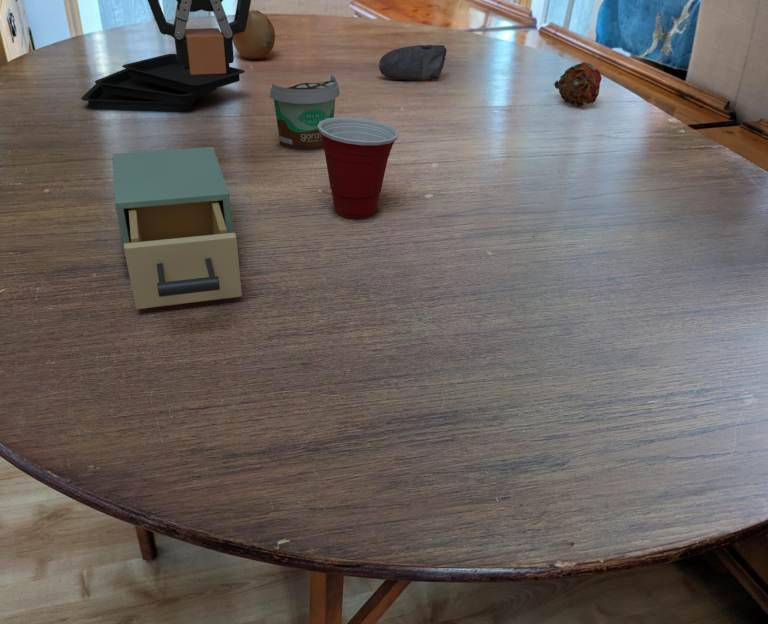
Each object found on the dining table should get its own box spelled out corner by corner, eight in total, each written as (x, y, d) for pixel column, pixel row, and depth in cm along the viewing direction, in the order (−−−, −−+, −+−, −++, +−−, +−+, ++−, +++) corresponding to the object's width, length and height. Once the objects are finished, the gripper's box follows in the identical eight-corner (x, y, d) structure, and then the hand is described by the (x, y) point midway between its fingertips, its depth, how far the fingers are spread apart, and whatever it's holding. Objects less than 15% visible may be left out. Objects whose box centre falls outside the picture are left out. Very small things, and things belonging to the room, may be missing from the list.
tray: (79, 118, 129) (72, 87, 126) (93, 81, 147) (88, 54, 144) (249, 114, 135) (247, 85, 132) (243, 79, 153) (241, 53, 150)
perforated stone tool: (380, 83, 154) (381, 48, 150) (376, 76, 159) (377, 42, 154) (448, 82, 157) (451, 48, 152) (443, 76, 161) (446, 42, 156)
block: (226, 73, 96) (223, 36, 93) (190, 74, 95) (186, 36, 92) (221, 64, 99) (218, 28, 97) (187, 65, 98) (183, 28, 95)
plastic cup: (409, 218, 101) (415, 133, 94) (340, 233, 97) (340, 144, 89) (371, 190, 109) (374, 109, 101) (306, 202, 104) (303, 118, 97)
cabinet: (235, 263, 89) (229, 193, 84) (128, 275, 86) (114, 203, 80) (219, 211, 101) (213, 146, 95) (125, 219, 98) (112, 153, 92)
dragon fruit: (576, 121, 144) (564, 111, 154) (616, 96, 141) (601, 88, 152) (556, 83, 141) (545, 75, 151) (596, 56, 138) (582, 51, 149)
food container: (291, 157, 118) (288, 94, 112) (272, 146, 122) (269, 84, 116) (353, 144, 124) (354, 83, 118) (333, 133, 128) (333, 74, 122)
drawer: (250, 323, 77) (244, 262, 72) (138, 338, 74) (125, 275, 70) (224, 239, 92) (219, 184, 88) (131, 248, 89) (120, 192, 85)
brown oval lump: (249, 51, 172) (245, 4, 166) (284, 57, 169) (282, 9, 162) (224, 59, 165) (220, 11, 159) (261, 66, 161) (258, 17, 155)
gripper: (246, -85, 91) (254, 58, 102) (127, -88, 87) (148, 62, 98) (256, -79, 86) (264, 73, 96) (130, -81, 82) (152, 77, 92)
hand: (206, 66), depth 97 cm, fingers closed on block, 4 cm apart
